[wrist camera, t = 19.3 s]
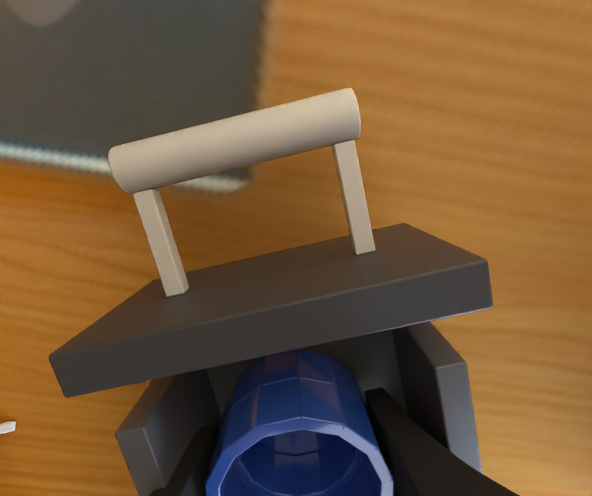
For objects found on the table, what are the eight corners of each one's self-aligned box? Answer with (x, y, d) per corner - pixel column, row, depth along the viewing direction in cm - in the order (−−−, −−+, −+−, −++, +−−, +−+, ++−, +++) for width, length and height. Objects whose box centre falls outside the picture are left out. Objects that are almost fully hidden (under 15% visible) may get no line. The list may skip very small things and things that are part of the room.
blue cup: (373, 443, 14) (408, 550, 10) (246, 471, 14) (232, 588, 10) (349, 329, 13) (378, 399, 9) (211, 360, 13) (179, 443, 9)
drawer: (113, 164, 13) (-40, 154, 7) (384, 97, 12) (460, 26, 6) (233, 522, 16) (197, 716, 10) (449, 482, 16) (538, 663, 10)
